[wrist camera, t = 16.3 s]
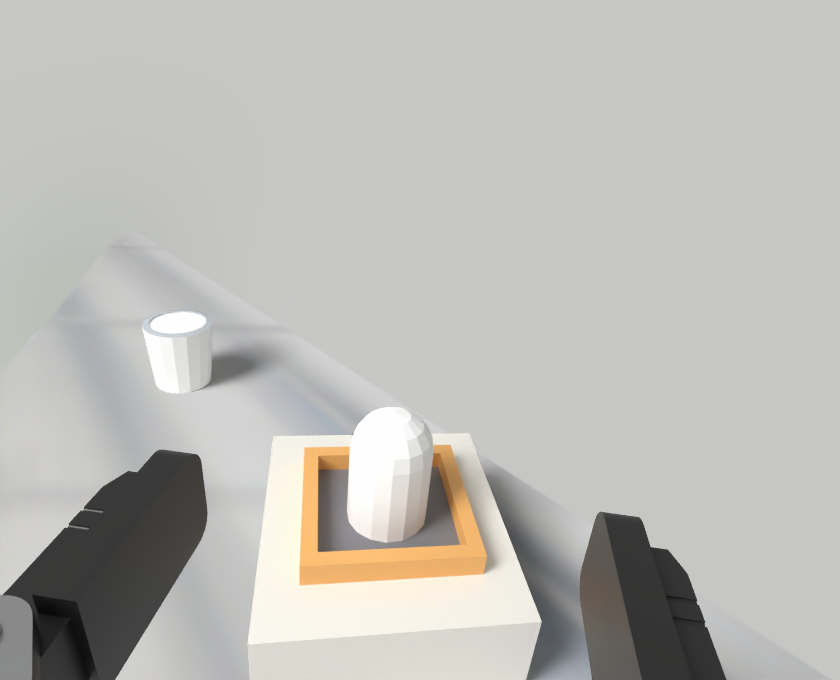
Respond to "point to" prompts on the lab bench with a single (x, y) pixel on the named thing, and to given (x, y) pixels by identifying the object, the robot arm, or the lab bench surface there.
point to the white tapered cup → (180, 349)
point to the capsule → (389, 474)
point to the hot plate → (386, 577)
